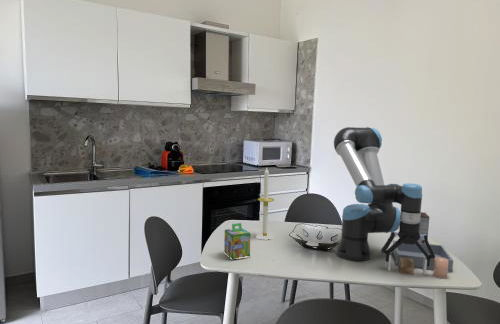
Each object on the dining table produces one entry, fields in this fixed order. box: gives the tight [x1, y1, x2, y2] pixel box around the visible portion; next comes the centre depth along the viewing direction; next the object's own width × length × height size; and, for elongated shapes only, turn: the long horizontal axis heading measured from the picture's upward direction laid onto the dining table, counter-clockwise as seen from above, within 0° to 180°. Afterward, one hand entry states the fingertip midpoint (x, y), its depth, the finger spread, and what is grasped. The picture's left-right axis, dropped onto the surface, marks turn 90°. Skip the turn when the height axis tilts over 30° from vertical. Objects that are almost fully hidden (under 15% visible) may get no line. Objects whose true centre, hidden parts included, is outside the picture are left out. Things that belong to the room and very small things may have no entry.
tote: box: [392, 240, 454, 273], centre depth 167 cm, size 22×20×5 cm
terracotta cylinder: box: [432, 257, 449, 279], centre depth 150 cm, size 5×5×7 cm
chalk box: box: [223, 222, 251, 259], centre depth 167 cm, size 9×9×15 cm
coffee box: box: [418, 211, 430, 244], centre depth 187 cm, size 9×6×16 cm
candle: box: [257, 167, 275, 236], centre depth 193 cm, size 10×10×38 cm
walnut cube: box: [398, 258, 415, 276], centre depth 154 cm, size 5×5×5 cm
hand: (406, 271), depth 154 cm, fingers open, 13 cm apart
